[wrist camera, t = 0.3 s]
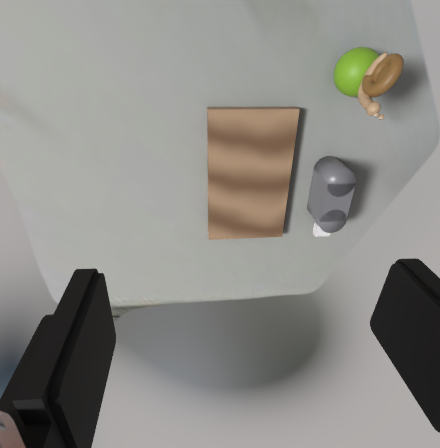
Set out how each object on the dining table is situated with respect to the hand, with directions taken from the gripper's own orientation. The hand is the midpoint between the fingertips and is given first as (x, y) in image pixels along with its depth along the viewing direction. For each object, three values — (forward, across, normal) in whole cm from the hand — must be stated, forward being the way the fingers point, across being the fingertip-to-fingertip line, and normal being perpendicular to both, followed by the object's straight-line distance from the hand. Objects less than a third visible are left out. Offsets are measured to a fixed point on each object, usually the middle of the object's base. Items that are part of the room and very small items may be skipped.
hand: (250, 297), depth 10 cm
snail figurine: (+36, -19, -4) cm, 41 cm away
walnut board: (+36, -7, +10) cm, 38 cm away
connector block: (+36, -19, +12) cm, 42 cm away
